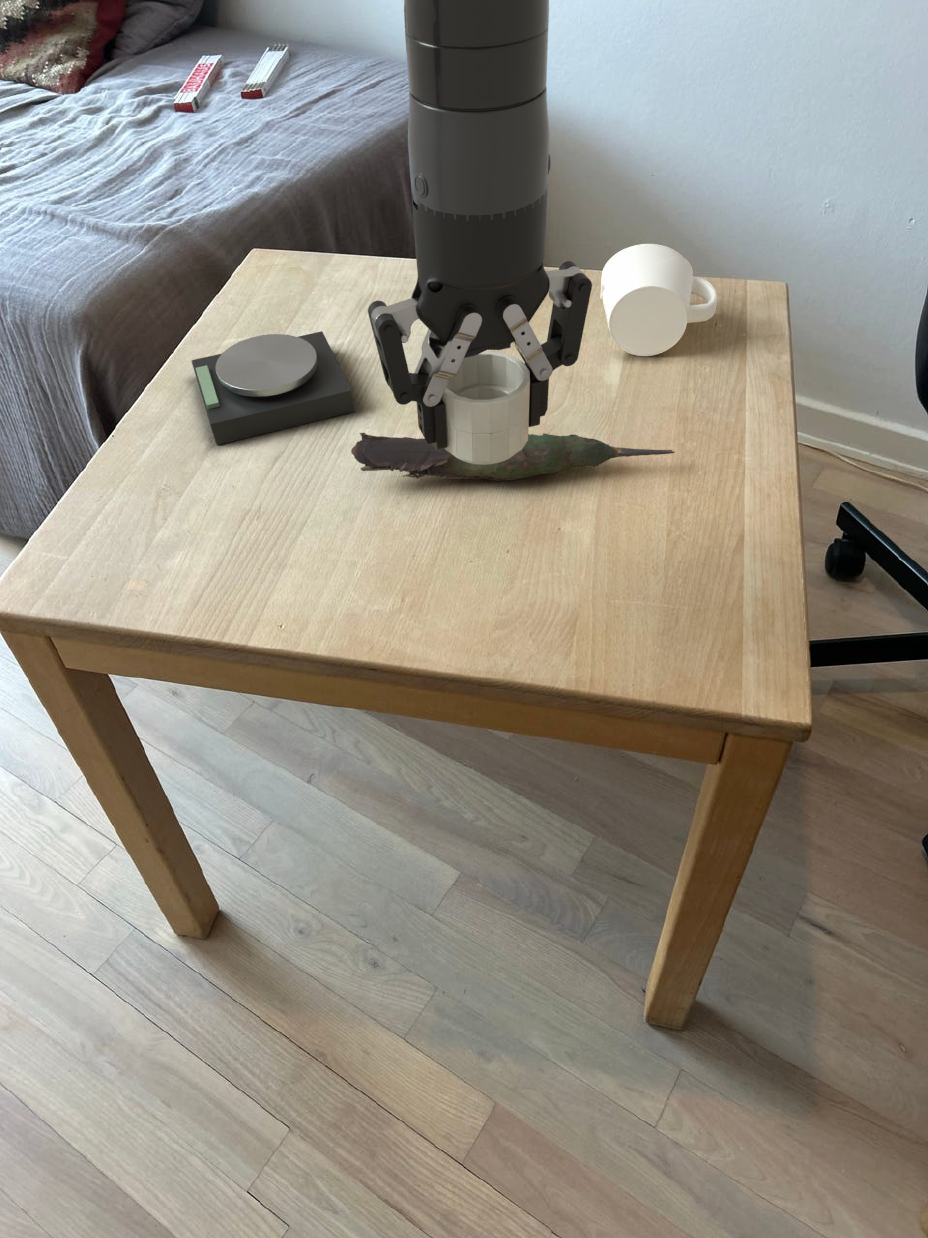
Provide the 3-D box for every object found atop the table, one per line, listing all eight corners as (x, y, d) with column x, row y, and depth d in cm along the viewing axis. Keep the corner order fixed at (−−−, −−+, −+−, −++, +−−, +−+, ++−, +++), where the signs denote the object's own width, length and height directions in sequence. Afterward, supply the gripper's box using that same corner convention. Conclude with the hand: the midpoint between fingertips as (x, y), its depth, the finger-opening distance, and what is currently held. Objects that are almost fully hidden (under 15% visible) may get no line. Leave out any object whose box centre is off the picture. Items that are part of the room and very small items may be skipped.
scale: (216, 445, 85) (208, 419, 83) (197, 380, 93) (189, 355, 90) (355, 411, 88) (351, 386, 86) (325, 351, 95) (321, 326, 93)
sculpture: (358, 463, 82) (351, 418, 79) (666, 449, 82) (674, 403, 78) (355, 497, 79) (348, 452, 76) (676, 482, 79) (684, 437, 75)
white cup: (457, 477, 59) (454, 411, 55) (429, 426, 62) (424, 361, 59) (541, 456, 60) (544, 390, 56) (508, 407, 64) (509, 342, 60)
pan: (227, 406, 84) (225, 399, 83) (209, 353, 90) (207, 346, 89) (328, 382, 86) (327, 375, 85) (304, 332, 92) (303, 325, 91)
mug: (597, 355, 93) (603, 284, 87) (598, 309, 99) (604, 240, 93) (713, 358, 92) (727, 286, 86) (706, 312, 98) (719, 241, 92)
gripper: (571, 134, 52) (557, 380, 64) (335, 175, 49) (368, 424, 61) (629, 183, 47) (601, 438, 60) (371, 231, 44) (399, 489, 57)
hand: (483, 430), depth 61 cm, fingers closed on white cup, 6 cm apart
